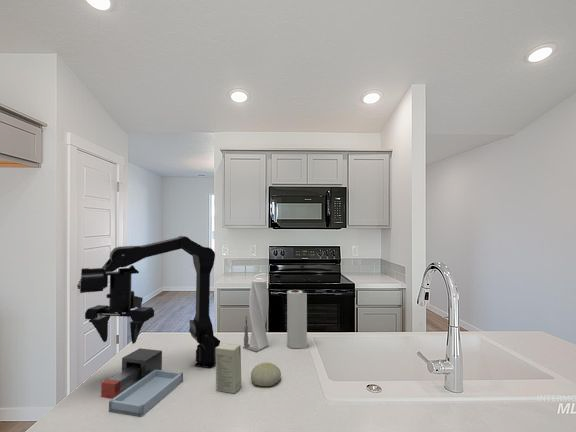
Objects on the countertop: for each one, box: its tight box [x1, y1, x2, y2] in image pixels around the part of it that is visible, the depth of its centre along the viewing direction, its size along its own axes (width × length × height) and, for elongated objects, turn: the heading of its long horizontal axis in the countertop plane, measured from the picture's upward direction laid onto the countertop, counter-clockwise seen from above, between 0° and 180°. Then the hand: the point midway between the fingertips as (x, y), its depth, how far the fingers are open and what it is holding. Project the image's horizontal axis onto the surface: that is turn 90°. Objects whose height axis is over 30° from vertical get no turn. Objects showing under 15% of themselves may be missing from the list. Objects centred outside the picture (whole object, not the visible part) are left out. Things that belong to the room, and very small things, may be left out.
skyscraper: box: [242, 273, 270, 353], centre depth 126 cm, size 8×8×28 cm
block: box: [121, 347, 163, 379], centre depth 102 cm, size 8×8×6 cm
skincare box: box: [215, 342, 242, 394], centre depth 94 cm, size 6×4×12 cm
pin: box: [100, 363, 141, 400], centre depth 96 cm, size 4×15×4 cm, turn 166°
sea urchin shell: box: [250, 362, 282, 387], centre depth 98 cm, size 9×8×8 cm
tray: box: [108, 369, 184, 417], centre depth 90 cm, size 10×19×2 cm, turn 166°
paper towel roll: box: [286, 289, 308, 349], centre depth 126 cm, size 7×6×21 cm
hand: (119, 342), depth 96 cm, fingers open, 9 cm apart
